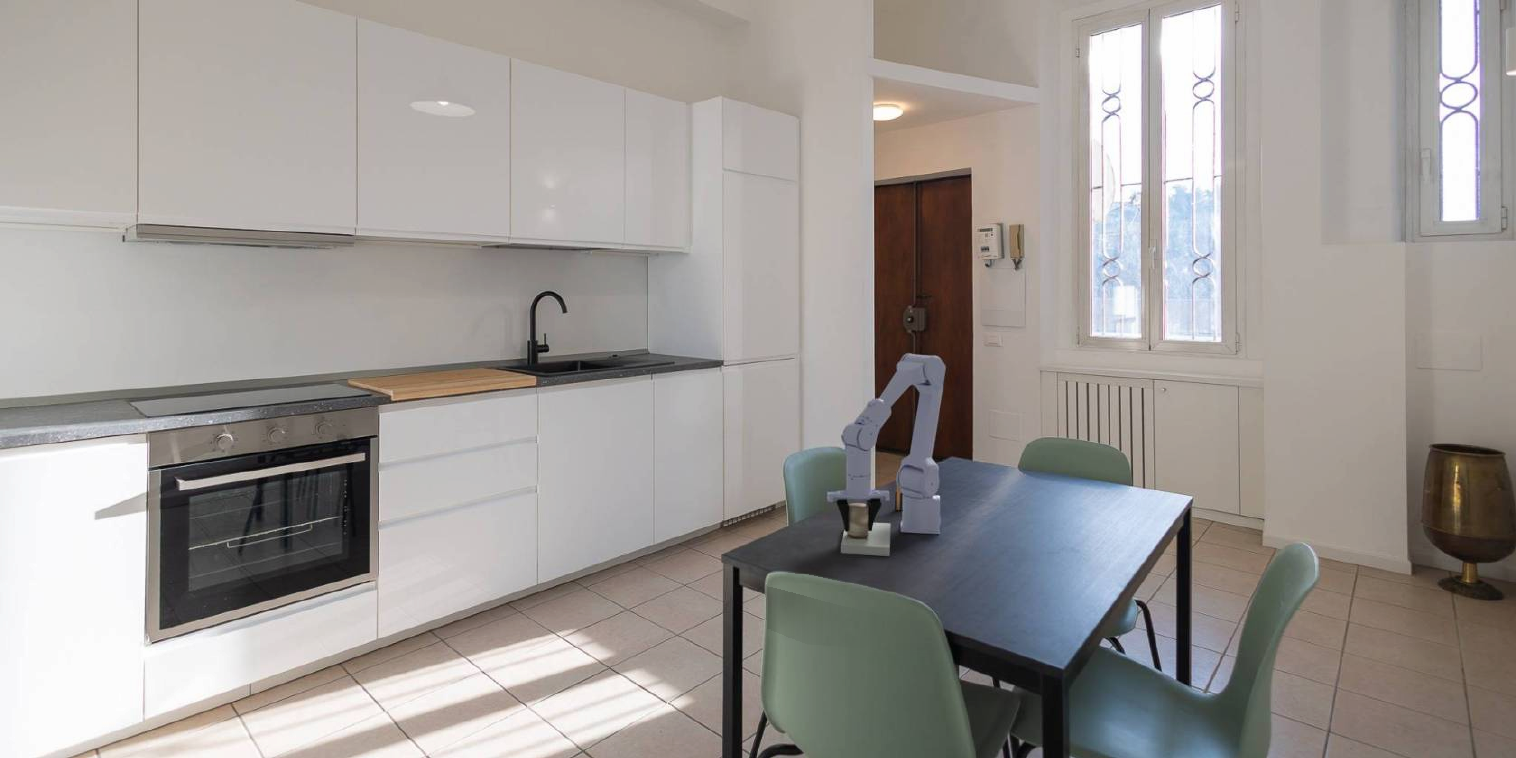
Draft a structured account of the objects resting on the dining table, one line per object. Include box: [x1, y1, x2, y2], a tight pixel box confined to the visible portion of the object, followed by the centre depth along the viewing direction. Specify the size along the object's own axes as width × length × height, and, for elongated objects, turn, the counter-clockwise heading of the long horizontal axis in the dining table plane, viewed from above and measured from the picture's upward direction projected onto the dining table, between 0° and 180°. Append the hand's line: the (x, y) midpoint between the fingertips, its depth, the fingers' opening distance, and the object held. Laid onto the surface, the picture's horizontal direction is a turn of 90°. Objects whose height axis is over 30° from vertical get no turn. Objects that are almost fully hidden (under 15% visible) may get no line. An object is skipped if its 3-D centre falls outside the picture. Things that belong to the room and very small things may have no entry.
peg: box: [847, 502, 869, 539], centre depth 178 cm, size 5×5×9 cm
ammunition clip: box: [894, 467, 920, 512], centre depth 209 cm, size 11×2×12 cm, turn 138°
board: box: [840, 522, 891, 557], centre depth 180 cm, size 11×18×2 cm, turn 169°
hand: (858, 530), depth 178 cm, fingers closed on peg, 5 cm apart
